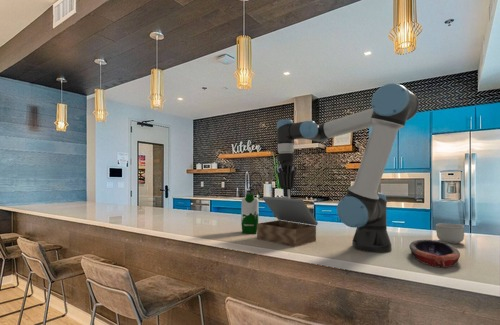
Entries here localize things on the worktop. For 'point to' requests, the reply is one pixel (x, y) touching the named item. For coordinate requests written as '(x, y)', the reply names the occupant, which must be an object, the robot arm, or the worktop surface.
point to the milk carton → (249, 214)
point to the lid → (290, 210)
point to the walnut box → (286, 232)
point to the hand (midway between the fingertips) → (287, 203)
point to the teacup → (450, 233)
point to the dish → (435, 253)
